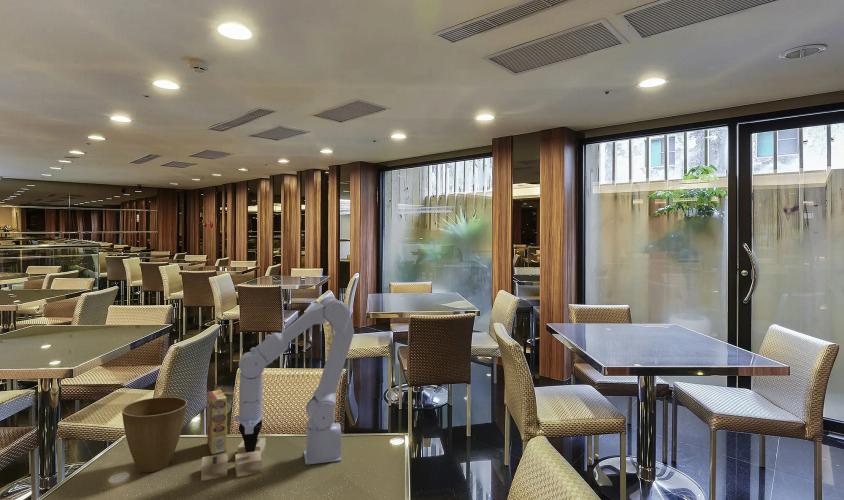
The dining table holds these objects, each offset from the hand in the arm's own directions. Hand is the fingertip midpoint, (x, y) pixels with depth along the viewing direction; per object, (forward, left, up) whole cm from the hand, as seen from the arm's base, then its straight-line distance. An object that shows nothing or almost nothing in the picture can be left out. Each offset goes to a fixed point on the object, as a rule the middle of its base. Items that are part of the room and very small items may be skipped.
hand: (250, 451), depth 122 cm
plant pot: (+24, -8, -5) cm, 26 cm away
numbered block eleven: (0, -9, -5) cm, 10 cm away
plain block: (0, 0, -5) cm, 5 cm away
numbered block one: (+9, 0, -5) cm, 10 cm away
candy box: (+10, -16, -5) cm, 20 cm away
